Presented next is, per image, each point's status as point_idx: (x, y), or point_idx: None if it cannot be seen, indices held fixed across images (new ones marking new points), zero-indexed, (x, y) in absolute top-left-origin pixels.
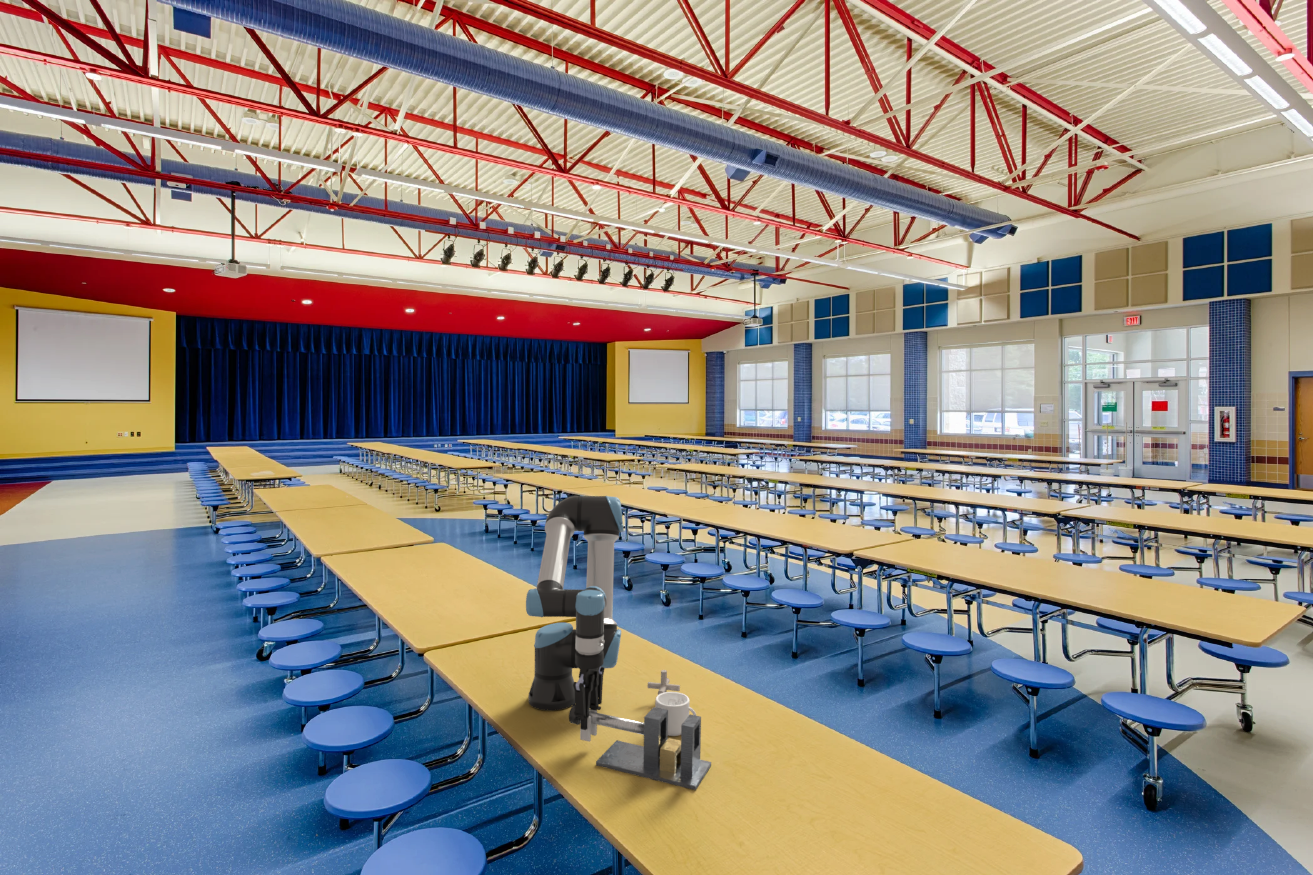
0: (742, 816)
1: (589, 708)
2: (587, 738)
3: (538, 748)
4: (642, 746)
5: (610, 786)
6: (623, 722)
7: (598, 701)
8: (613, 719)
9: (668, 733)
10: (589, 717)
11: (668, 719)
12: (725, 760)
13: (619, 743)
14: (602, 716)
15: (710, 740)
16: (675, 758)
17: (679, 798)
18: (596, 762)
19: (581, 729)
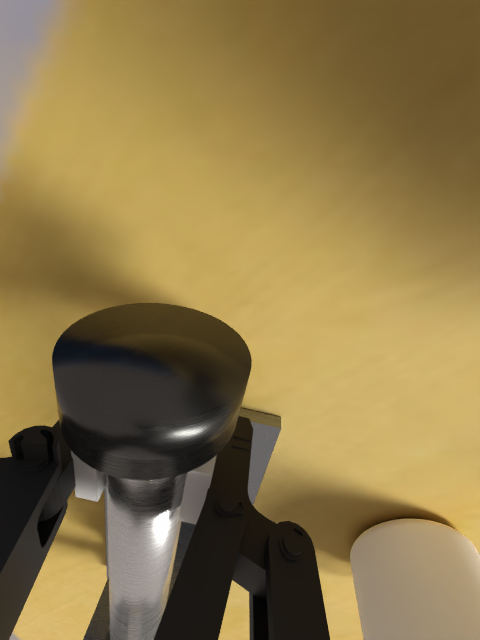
0: (72, 605)
1: (36, 574)
2: None
3: (130, 43)
4: (253, 497)
5: None
6: (112, 616)
7: (251, 592)
8: (114, 592)
9: (351, 552)
10: (76, 494)
11: (362, 615)
12: (249, 610)
13: (256, 438)
14: (114, 559)
15: (342, 601)
16: None
17: (68, 546)
18: None
19: None
